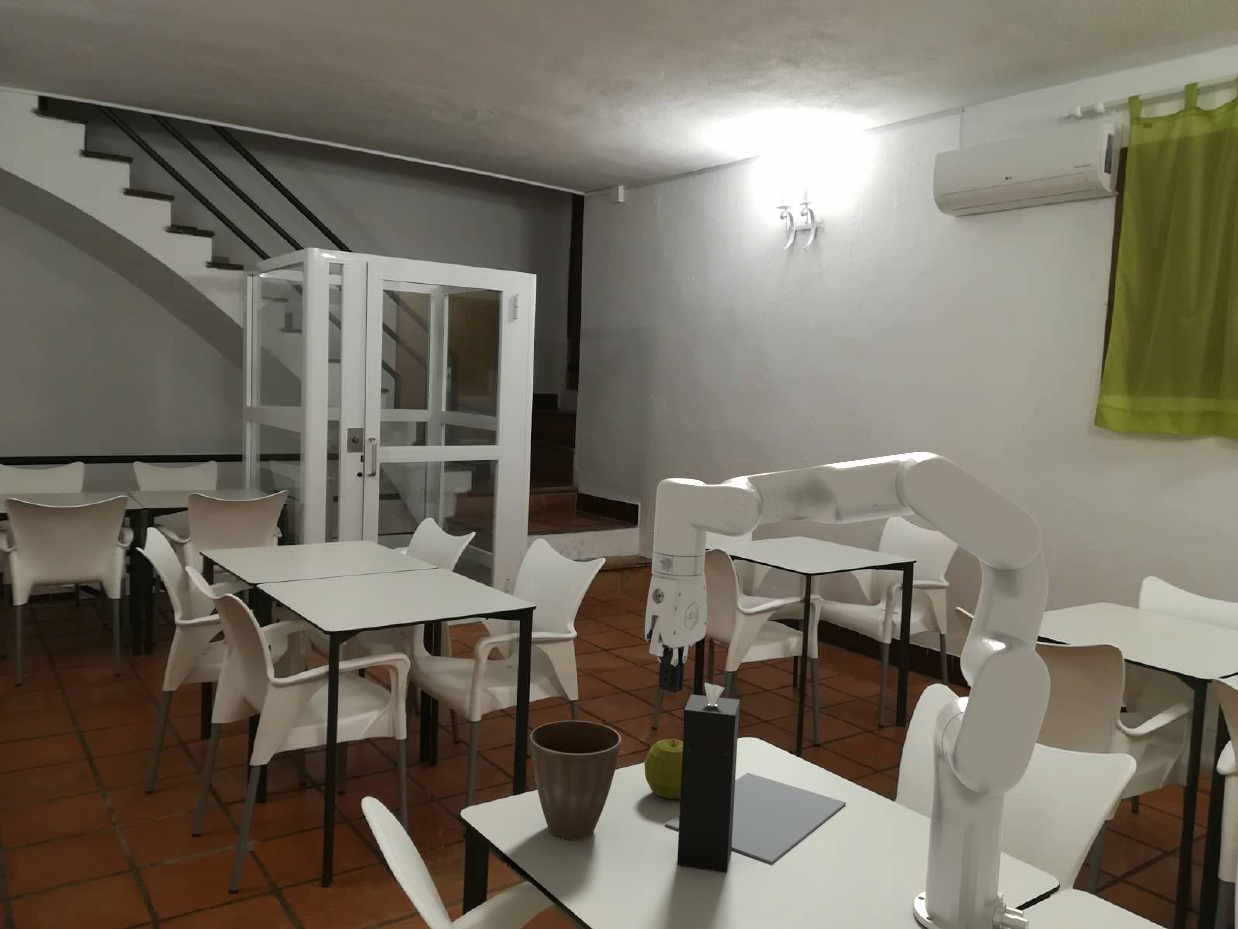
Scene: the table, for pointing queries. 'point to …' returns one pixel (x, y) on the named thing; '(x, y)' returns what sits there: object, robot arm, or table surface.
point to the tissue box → (708, 780)
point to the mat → (773, 816)
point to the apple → (665, 768)
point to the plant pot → (573, 774)
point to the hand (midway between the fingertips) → (670, 689)
